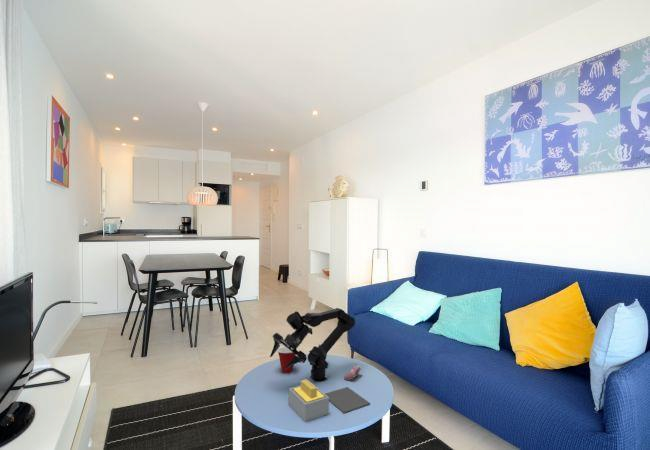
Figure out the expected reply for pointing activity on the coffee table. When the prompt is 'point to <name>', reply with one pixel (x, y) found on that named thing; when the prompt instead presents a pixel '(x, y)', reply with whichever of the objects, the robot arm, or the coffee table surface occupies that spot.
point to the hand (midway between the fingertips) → (277, 362)
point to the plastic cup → (285, 359)
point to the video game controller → (352, 373)
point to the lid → (308, 392)
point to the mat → (346, 400)
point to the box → (309, 406)
